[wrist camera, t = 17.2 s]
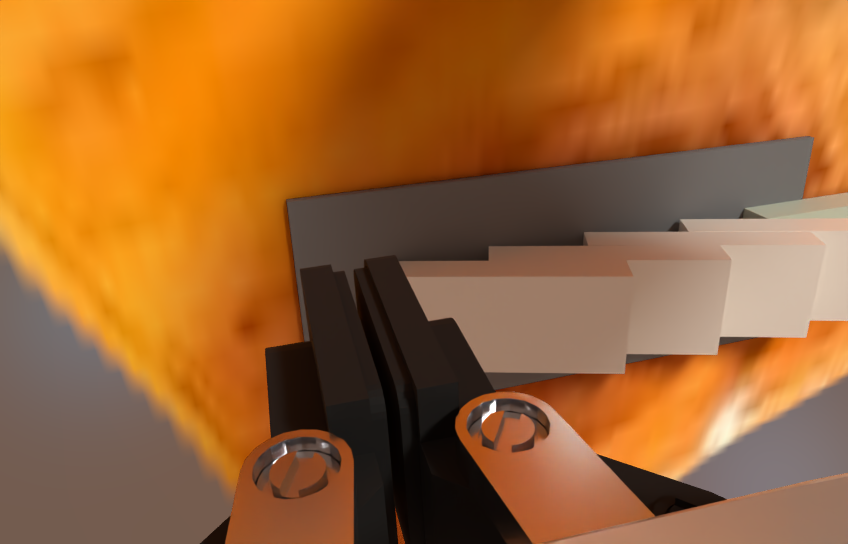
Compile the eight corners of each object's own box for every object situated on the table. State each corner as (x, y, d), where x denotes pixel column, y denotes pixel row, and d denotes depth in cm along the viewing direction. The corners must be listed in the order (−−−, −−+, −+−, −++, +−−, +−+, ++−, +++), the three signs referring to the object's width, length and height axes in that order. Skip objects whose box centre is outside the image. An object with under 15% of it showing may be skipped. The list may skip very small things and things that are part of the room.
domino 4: (744, 208, 37) (905, 183, 40) (731, 291, 39) (885, 262, 42) (767, 218, 36) (934, 192, 38) (753, 304, 38) (912, 273, 40)
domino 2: (488, 352, 34) (717, 354, 33) (488, 260, 32) (731, 260, 31) (488, 334, 36) (706, 336, 35) (488, 246, 34) (719, 245, 33)
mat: (314, 421, 36) (315, 425, 35) (286, 199, 31) (287, 202, 30) (771, 330, 42) (776, 333, 42) (808, 136, 37) (813, 137, 37)
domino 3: (582, 335, 36) (806, 337, 34) (588, 245, 33) (826, 244, 32) (578, 318, 37) (792, 320, 36) (583, 232, 35) (810, 231, 34)
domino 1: (390, 371, 33) (624, 373, 32) (384, 276, 31) (633, 276, 30) (395, 351, 35) (618, 353, 34) (389, 260, 33) (626, 260, 32)
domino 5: (677, 319, 37) (897, 321, 36) (688, 231, 35) (921, 230, 34) (669, 303, 38) (879, 305, 37) (679, 219, 36) (902, 217, 35)
